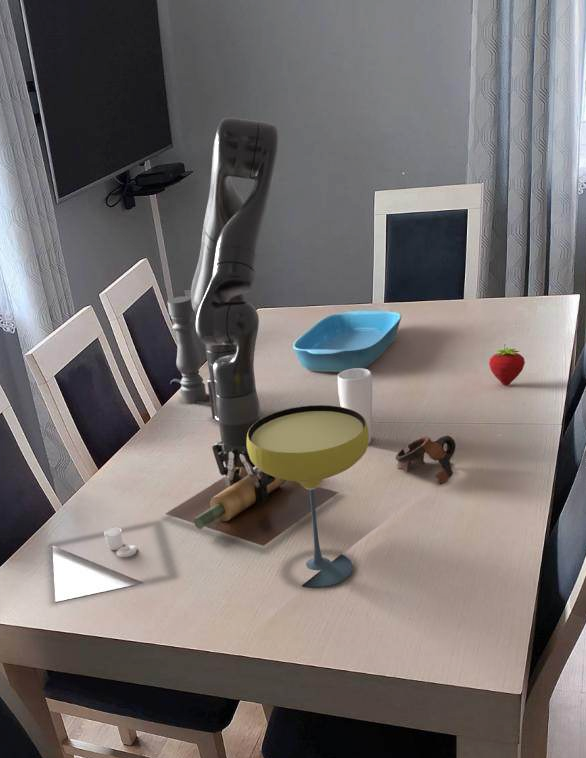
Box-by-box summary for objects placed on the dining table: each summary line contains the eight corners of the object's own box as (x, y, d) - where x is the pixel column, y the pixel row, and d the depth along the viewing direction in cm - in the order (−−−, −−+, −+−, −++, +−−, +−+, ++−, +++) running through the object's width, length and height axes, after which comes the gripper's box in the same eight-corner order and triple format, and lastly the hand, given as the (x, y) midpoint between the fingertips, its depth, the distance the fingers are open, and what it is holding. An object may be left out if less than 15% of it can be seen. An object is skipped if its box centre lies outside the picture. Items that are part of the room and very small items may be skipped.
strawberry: (520, 391, 191) (522, 347, 186) (485, 389, 195) (486, 346, 190) (526, 381, 195) (528, 338, 190) (492, 380, 199) (493, 337, 194)
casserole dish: (333, 332, 248) (331, 307, 244) (411, 332, 237) (410, 306, 233) (283, 379, 221) (280, 351, 217) (368, 381, 210) (367, 353, 206)
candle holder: (178, 403, 217) (162, 304, 205) (187, 394, 222) (172, 296, 210) (201, 403, 215) (186, 303, 202) (210, 394, 219) (195, 295, 207)
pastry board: (166, 519, 165) (165, 513, 164) (241, 472, 177) (240, 467, 177) (264, 551, 149) (263, 545, 148) (338, 497, 162) (338, 491, 161)
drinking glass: (374, 448, 178) (371, 378, 170) (340, 450, 179) (336, 381, 172) (375, 434, 183) (371, 366, 176) (342, 436, 185) (338, 369, 178)
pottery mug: (434, 494, 158) (410, 456, 157) (404, 498, 167) (381, 463, 166) (477, 456, 162) (454, 419, 160) (445, 462, 171) (423, 427, 169)
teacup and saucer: (142, 559, 153) (138, 539, 151) (97, 568, 152) (93, 549, 150) (136, 536, 161) (132, 517, 159) (94, 545, 160) (89, 526, 158)
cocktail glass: (265, 545, 151) (248, 411, 139) (371, 537, 148) (363, 399, 135) (261, 604, 135) (242, 459, 123) (380, 597, 132) (372, 447, 120)
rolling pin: (190, 532, 156) (185, 507, 154) (286, 469, 172) (283, 446, 170) (210, 539, 153) (206, 514, 150) (306, 474, 169) (304, 451, 167)
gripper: (284, 413, 152) (292, 499, 160) (222, 401, 161) (234, 483, 169) (256, 429, 147) (267, 516, 155) (195, 416, 157) (208, 499, 165)
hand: (249, 498), depth 162 cm, fingers closed on rolling pin, 5 cm apart
